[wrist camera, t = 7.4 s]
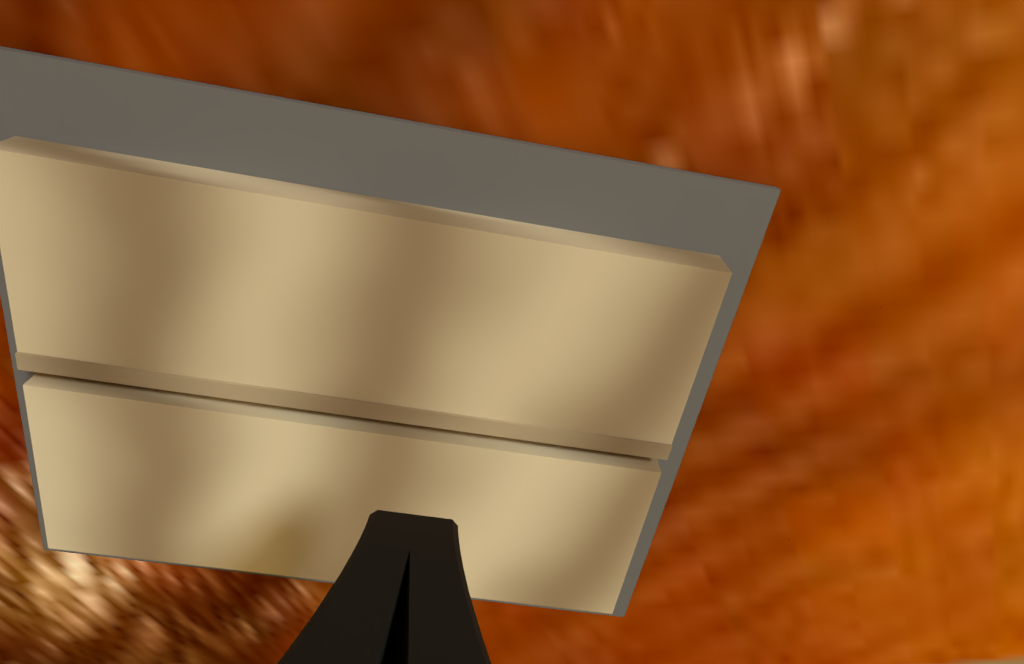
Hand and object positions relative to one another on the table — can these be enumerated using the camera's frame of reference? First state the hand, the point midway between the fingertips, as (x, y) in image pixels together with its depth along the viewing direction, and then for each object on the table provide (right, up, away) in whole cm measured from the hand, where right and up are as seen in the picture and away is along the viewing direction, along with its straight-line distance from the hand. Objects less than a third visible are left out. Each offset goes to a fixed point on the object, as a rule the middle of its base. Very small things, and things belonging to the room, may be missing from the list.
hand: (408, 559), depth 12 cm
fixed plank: (-2, +5, +8) cm, 10 cm away
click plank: (-3, -1, +11) cm, 11 cm away
